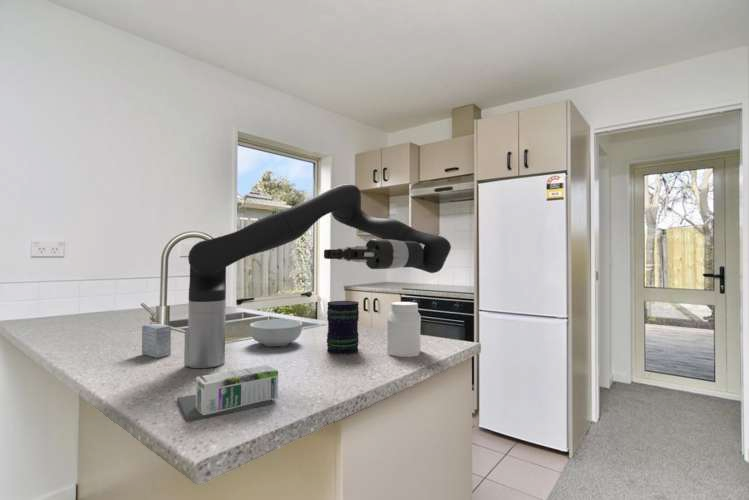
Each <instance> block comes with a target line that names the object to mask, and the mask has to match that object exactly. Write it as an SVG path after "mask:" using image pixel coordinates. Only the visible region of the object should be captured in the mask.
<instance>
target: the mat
mask: <svg viewBox="0 0 749 500" xmlns="http://www.w3.org/2000/svg"><path fill="white" fill-rule="evenodd" d="M177 403H178V404H179V407H180V409H181V412H182V414H183V416H184V419H185V421H186V422H190V421H195V420H201V419H205V418H211V417H216V416H219V415H225V414H231V413H235V412H239V411H244V410H249V409H254V408H259V407H263V406H269V405H271V400H268V401H263V402H258V403H254V404H250V405H245V406H241V407H237V408H233V409H229V410H225V411H221V412H217V413H212V414H208V415H202V414H201V413H200V412H199V411H198V410H197V408H196V406H195V403H196V393H194V394H191V395H185V396H179V397H177Z"/></svg>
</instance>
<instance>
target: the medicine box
mask: <svg viewBox="0 0 749 500" xmlns="http://www.w3.org/2000/svg"><path fill="white" fill-rule="evenodd" d="M171 345H172V326H171V325H167V324H161V323H151V324H145V325H142V327H141V355H143V356H148V357H150V358H151V357H152V358H155V359H159V358H163V357H168V356H171V355H172V350H171V349H172V347H171Z"/></svg>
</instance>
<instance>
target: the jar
mask: <svg viewBox="0 0 749 500" xmlns="http://www.w3.org/2000/svg"><path fill="white" fill-rule="evenodd" d="M421 316H422V315H421V313H419V303H417V302H413V301H395V302H391V303H390V312H389V313H388V316H387V322H386V323H387V346H386V347H387V348H386V354H387V355H389V356H393V357H399V358H400V357H401V358H411V357H412V358H413V357H419V356H420V352H421V351H422V349H421V322H422V319H421Z"/></svg>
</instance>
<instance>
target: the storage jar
mask: <svg viewBox="0 0 749 500" xmlns="http://www.w3.org/2000/svg"><path fill="white" fill-rule="evenodd" d="M359 314H360V310H359V302H358V301H354V300H353V301H352V300H332V301H328V302H327V313H326V315H327V317H326V319H327V320H326V321H327V326H328V327H327V334H326V343H327V345H326V346H327V348H326V350H327V351H326V352H327V353H328V354H331V355H340V356H341V355H345V356H346V355H353V354H357V353H358V352H359V341H360V340H359V332H358V331H359V330H358V326H359V325H358V324H359V323H358V321H359V319H360V317H359V316H360V315H359Z"/></svg>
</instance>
